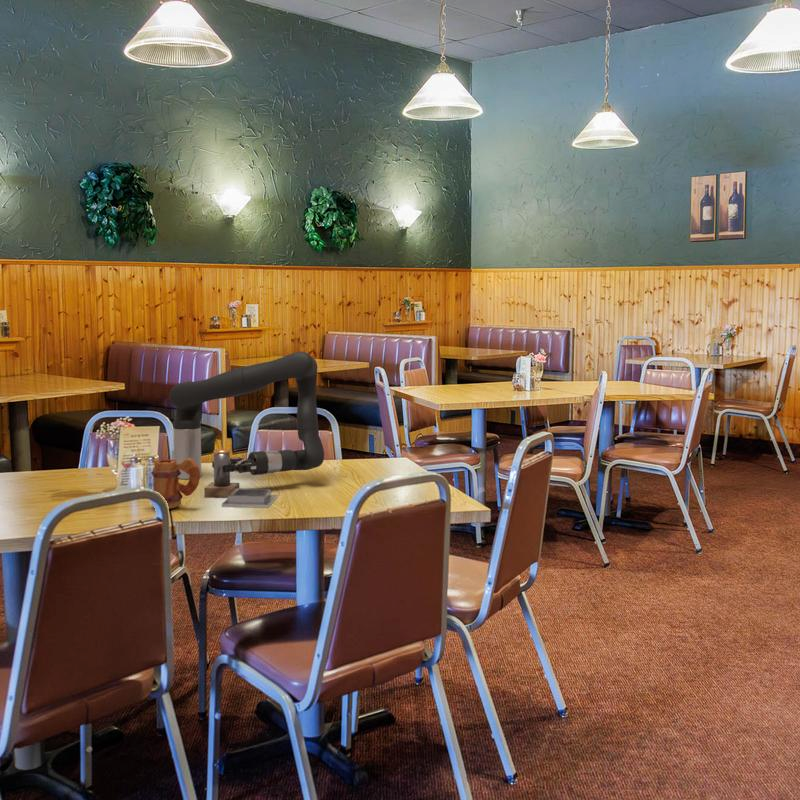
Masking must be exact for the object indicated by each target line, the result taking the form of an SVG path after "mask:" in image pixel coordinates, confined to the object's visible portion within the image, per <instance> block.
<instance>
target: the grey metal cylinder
mask: <svg viewBox="0 0 800 800" xmlns="http://www.w3.org/2000/svg"><path fill="white" fill-rule="evenodd" d="M230 450H231V449H226V448H218V449H217V448H216V449H214V450H213V461H214V468H213V482H214V486H216V487H226V486H230V483H231V472H226V473H224V472H222V466H223V465H230V458H231V457H230V455H231V454H230V452H231V451H230Z"/></svg>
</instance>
